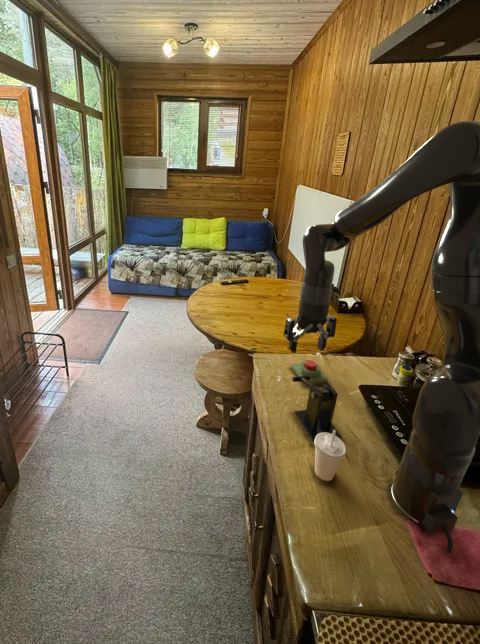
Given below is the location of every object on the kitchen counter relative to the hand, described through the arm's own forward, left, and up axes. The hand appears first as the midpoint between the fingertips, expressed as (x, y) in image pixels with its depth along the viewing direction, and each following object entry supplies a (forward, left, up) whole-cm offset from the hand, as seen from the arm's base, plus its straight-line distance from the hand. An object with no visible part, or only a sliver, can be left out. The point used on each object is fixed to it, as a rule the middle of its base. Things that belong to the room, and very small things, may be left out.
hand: (306, 350), depth 88 cm
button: (+10, -9, -14) cm, 19 cm away
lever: (-6, 0, -9) cm, 11 cm away
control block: (+10, -9, -18) cm, 22 cm away
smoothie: (-23, +6, -18) cm, 30 cm away
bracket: (-10, 0, -18) cm, 20 cm away
